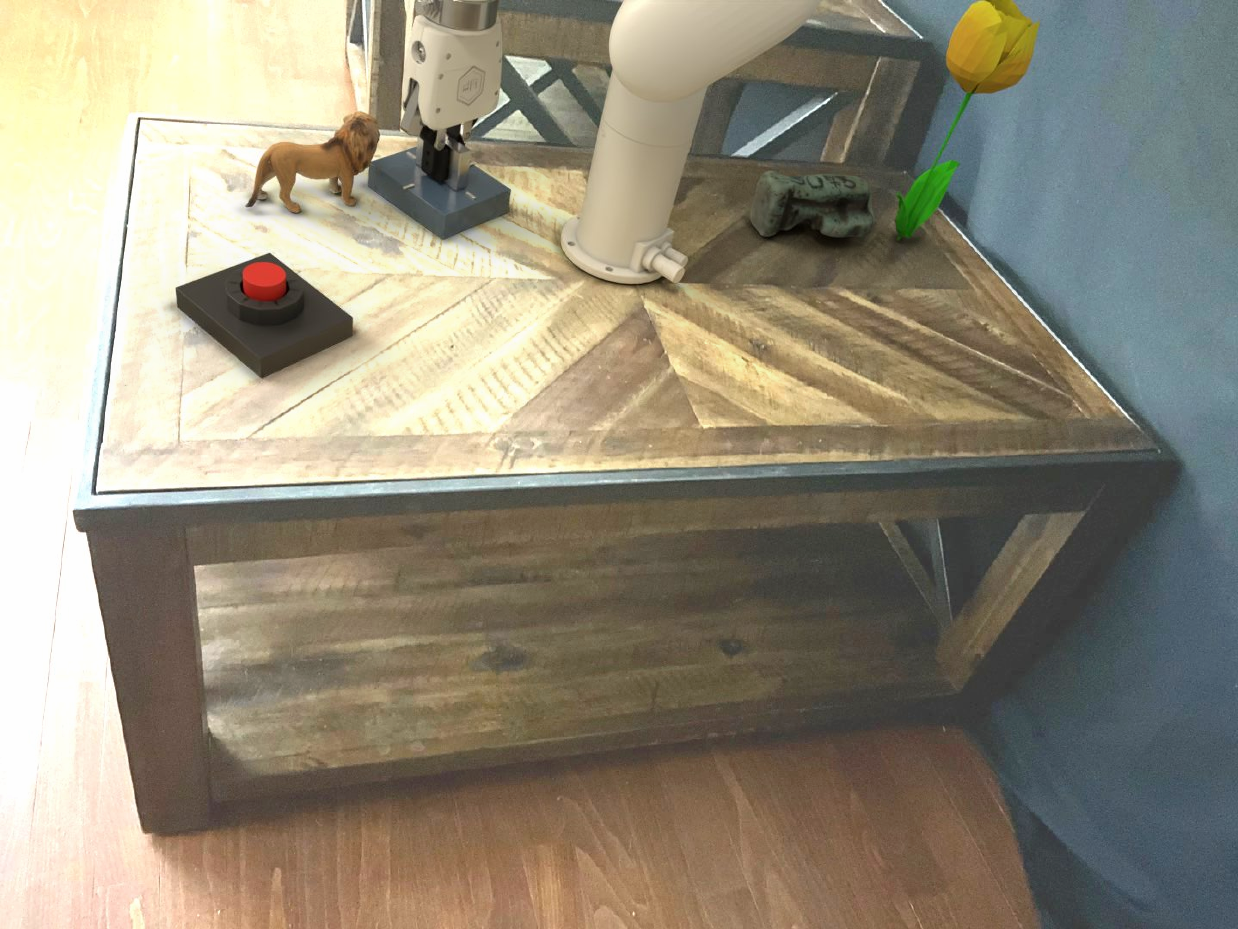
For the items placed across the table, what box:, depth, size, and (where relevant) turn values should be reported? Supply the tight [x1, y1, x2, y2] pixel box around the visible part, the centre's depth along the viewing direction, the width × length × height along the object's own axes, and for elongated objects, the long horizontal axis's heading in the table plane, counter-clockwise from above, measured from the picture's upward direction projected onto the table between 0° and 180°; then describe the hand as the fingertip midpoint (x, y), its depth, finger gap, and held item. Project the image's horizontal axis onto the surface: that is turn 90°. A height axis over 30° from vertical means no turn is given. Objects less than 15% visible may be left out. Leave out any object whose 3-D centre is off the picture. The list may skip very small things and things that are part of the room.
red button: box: [243, 262, 286, 301], centre depth 90 cm, size 4×4×2 cm
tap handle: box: [416, 130, 472, 191], centre depth 110 cm, size 6×2×5 cm, turn 50°
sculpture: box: [749, 170, 876, 238], centre depth 125 cm, size 12×8×15 cm
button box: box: [175, 252, 354, 379], centre depth 92 cm, size 12×10×4 cm
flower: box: [894, 0, 1041, 241], centre depth 120 cm, size 9×8×30 cm
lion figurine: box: [245, 110, 381, 214], centre depth 105 cm, size 15×5×9 cm, turn 129°
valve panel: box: [367, 146, 512, 240], centre depth 113 cm, size 12×11×3 cm
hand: (441, 172), depth 111 cm, fingers closed on tap handle
